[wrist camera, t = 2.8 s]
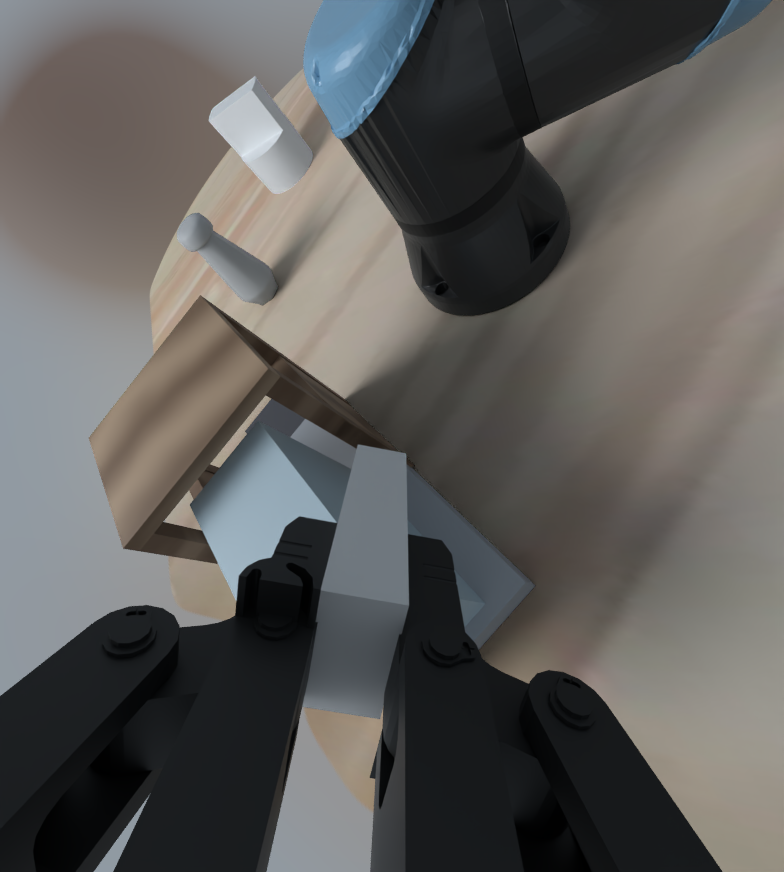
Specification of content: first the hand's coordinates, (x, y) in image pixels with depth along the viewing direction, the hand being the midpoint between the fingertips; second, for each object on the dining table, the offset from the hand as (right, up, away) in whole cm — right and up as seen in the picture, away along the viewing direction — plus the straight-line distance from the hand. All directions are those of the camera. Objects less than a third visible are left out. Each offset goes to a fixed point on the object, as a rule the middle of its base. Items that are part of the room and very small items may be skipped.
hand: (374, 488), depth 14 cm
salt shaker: (-17, +21, +48) cm, 55 cm away
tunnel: (-5, -3, +30) cm, 30 cm away
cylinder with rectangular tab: (-16, +44, +58) cm, 74 cm away
